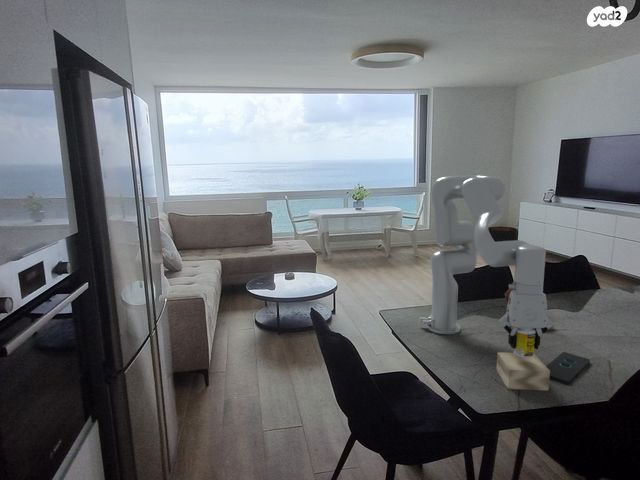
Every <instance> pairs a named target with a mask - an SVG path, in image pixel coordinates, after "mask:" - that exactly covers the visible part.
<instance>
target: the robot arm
mask: <svg viewBox="0 0 640 480" xmlns="http://www.w3.org/2000/svg"><path fill="white" fill-rule="evenodd" d="M505 193H506V187H505V184H504V182H503V180H501V179H500V178H499V177H497V176H486V175H449V176H442V177H439V178H437V179H436V180H435V181H434V182H433V184H432V187H431V200H432V201H431V202H432V205H433V210H434V216H433V217H434V226H433V227H434V241H435V244H436V245H437V246H440V247H443V248H445V247H458V248H456V249H442V250H438V251H435V252H434V253H433V254H432V255H431V257H430V268H431V269H430V270H431V276H432V277H431V278H432V280H431V282H432V283H431V285H432V286H431V288H432V289H431V290H432V291H431V314H429V316H427V317H420V316H419V318H418V320H419V323H422V324H423V325H426V328H427V329H428V330H429V331H430V332H433V333H436V334H440V335H454V334H458V333H459V332H460V331H461V326H460V324H458V323H457V317H458V316H457V315H458V294H459V285H458V283H457V281H456V279H455V278H454V275H458V274H467V273H471V272H473V271H474V270H475V268H476V266H477V262H478V261H477V260H478V257H477V256H478V254H479V255H480V257H481V259H482V261H484V263H485V264H486V265H488V266H489V267H492V268H501V267H513V266H514V276H513V277H514V278H513V282H512V283H509V284H508V289H513V291H511V293H510V296H509V300H508V305H507V307H506V313H505V314H504V315H503V316H502V317H501V318H499V320H497V323H498V324H499V325H500V327H502V328H503V329H504V330H505V331H506V332H507V333H508V339H507V341H508V345H509V346H510V347H511V348H512V350H513V349H515V348H516V335H515V333H516V330H517V328H534V329H535V331H536V333H535V345H534V350H539V346H540V345H541V337H542V336H543V335H544V334H545V333H546V332H547V331H549V330H548V329H549V328H550V327H552V326H554V323H553V321H552V320H551V319H550V318H549V317H548V304H547V302H548V300H547V295H546V293H544V280H545V279H544V278H545V267H546V254H547V253H546V250H545V248H544V247H543V246H539V245H535V244H530V243H528V242H526V241H524V240H520V239H519V240H503V241H495V240H494V238H493V237H492V235H491V233H490V230H489V227H490V226H492V225H494V224H495V223H497V222H498V221H499V220H500V219H501V218H502V217H503V214H504V210H503V208H502V206H501V205H500V204H499V202H498V201H501V200H502V199H503V198H504V196H505ZM453 200H464V201H465V204H467V206H468V208H469V210H470V212H471V214H472V215H473V217H474V219H475V221H476V224H475V225H474V224H473V223H472V222H471V221H468V220H459V218H458V217H459V210H458V207H457V205H456V204H455V202H454V201H453ZM507 323H508V324H509V325H508V324H507Z"/></svg>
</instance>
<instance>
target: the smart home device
mask: <svg viewBox="0 0 640 480" xmlns="http://www.w3.org/2000/svg"><path fill="white" fill-rule="evenodd" d="M590 362H591V361H590V359H589V358H586V357H582V356H579V355H577V354H573V353H569V352H566V351H563V352H561V353H560V354H559V355H558V356H556V358H554V359H553V360H552V361H550V363H548V364H547V365H545V366H546V367H547V368H548V369H549V370H550V378H549V380H551V381H555V382H558V383H560V384H564V385H566V386H568V385H570V384H572V382H574V380H575V379H577V378H578V376H580V374H581V373H582V372H583V371H584V370H585V369H586V368H587V367H588V366H589V365H590Z"/></svg>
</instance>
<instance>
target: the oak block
mask: <svg viewBox="0 0 640 480" xmlns="http://www.w3.org/2000/svg"><path fill="white" fill-rule="evenodd" d="M546 366H547V365H545V363H543V362H542V360H541V359H540V358H539V357H538V356H537V354H536V353H534V355H533V356H532V357H530V358H523V357H519V356H517V355H515V354H514V353H513V352H500V351H499V352H497V354H496V368H495V369H496V371H497V373H498V375H499V376H500V377H499V378H501V380H502V381H503V383H504V384H505V387H506V388H507V389H508V390H527V391H529V390H530V391H546V392H547V391H549V387H550V379H549V378H550V370H549V369H548V368H547V367H546Z"/></svg>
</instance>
